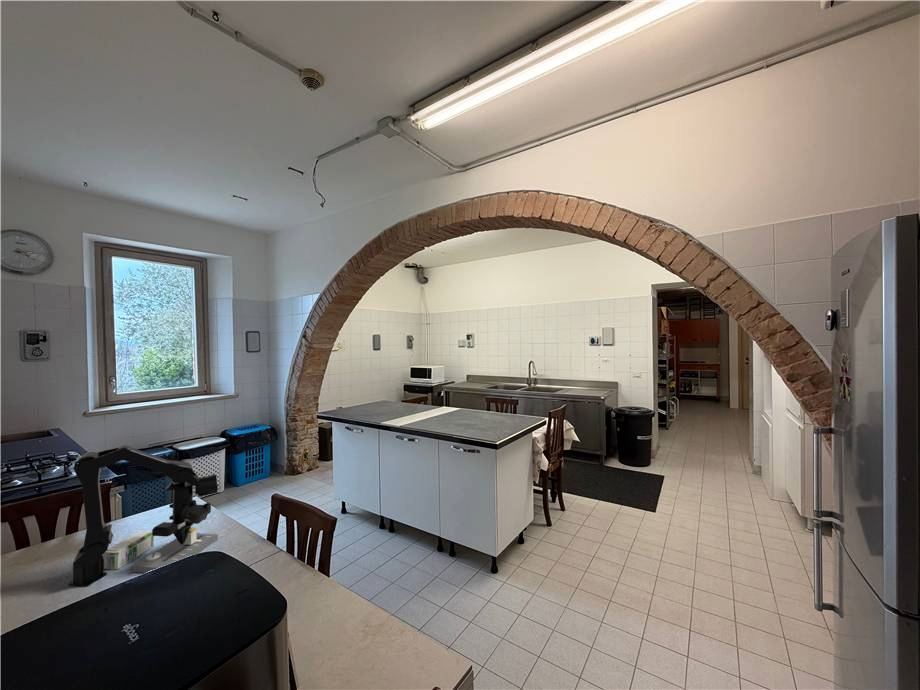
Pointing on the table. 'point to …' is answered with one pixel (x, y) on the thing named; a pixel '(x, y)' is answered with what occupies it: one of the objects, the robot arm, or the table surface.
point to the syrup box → (128, 549)
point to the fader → (191, 536)
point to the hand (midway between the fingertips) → (182, 543)
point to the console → (173, 553)
